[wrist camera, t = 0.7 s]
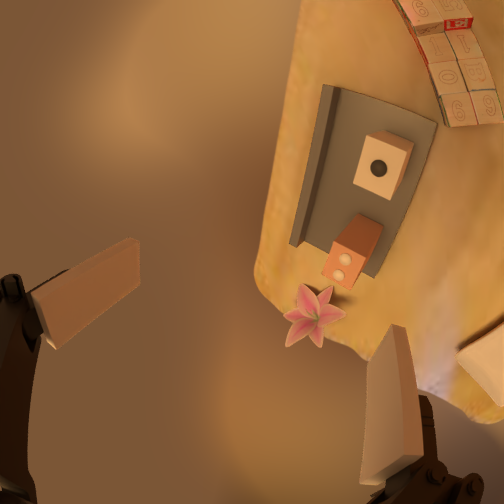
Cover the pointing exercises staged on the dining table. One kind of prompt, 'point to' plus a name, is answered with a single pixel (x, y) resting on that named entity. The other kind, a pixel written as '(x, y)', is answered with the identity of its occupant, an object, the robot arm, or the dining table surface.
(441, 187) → the dining table surface
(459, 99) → the stack of blocks
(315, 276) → the dining table surface
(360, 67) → the dining table surface
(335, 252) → the key two
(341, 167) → the tray
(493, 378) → the salad plate
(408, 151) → the key one
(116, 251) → the robot arm
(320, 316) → the lily
